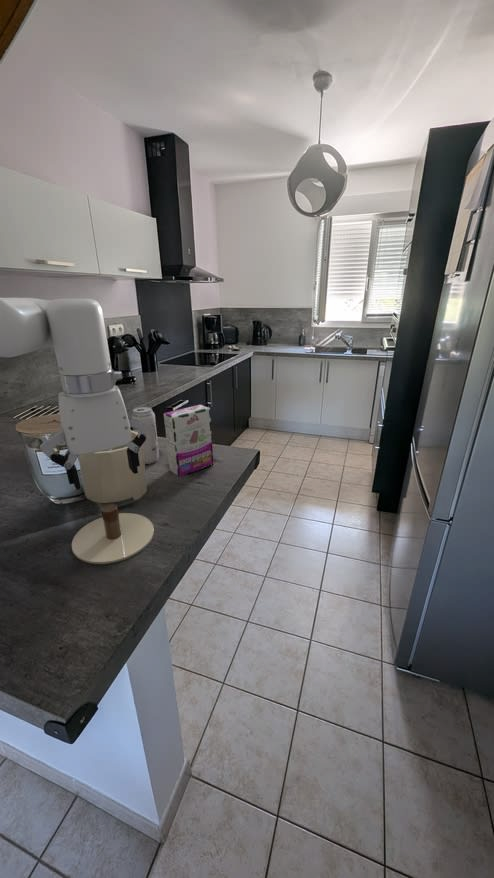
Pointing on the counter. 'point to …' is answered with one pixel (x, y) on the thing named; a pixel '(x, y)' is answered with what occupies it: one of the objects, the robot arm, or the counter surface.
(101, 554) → the lid
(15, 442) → the counter surface
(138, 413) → the energy drink can
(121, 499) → the canister
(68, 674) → the counter surface
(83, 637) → the counter surface
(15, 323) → the robot arm
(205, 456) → the candy bar box
